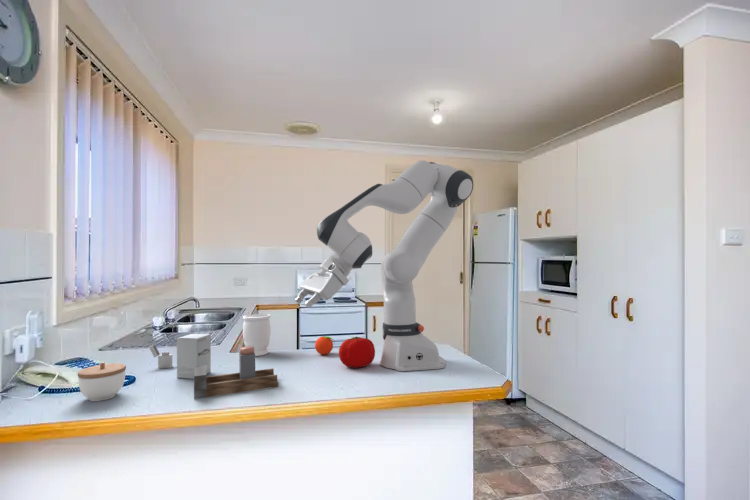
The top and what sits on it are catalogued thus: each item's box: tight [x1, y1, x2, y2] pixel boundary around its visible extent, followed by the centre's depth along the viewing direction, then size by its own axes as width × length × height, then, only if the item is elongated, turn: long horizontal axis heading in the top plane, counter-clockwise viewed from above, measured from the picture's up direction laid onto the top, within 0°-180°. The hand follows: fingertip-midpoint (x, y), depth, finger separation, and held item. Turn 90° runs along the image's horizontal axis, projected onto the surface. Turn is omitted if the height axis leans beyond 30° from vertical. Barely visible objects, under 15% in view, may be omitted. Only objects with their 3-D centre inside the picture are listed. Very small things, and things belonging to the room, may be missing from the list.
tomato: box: [338, 336, 376, 369], centre depth 131 cm, size 11×13×10 cm
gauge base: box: [193, 366, 279, 400], centre depth 112 cm, size 22×10×6 cm, turn 113°
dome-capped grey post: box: [238, 346, 256, 379], centre depth 113 cm, size 4×5×9 cm
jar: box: [242, 313, 271, 357], centre depth 150 cm, size 11×10×15 cm
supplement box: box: [176, 333, 212, 380], centre depth 124 cm, size 7×7×13 cm
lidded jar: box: [77, 361, 127, 402], centre depth 105 cm, size 11×11×9 cm
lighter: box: [148, 344, 173, 369], centre depth 133 cm, size 7×2×8 cm, turn 96°
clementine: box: [314, 335, 335, 356], centre depth 148 cm, size 8×7×7 cm
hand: (301, 304), depth 119 cm, fingers open, 8 cm apart
